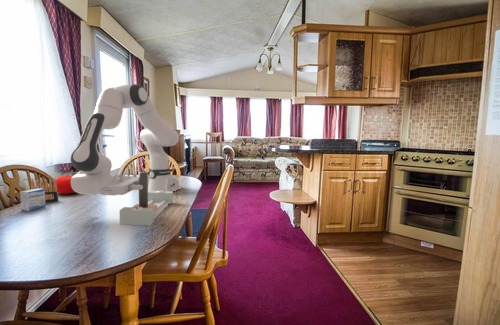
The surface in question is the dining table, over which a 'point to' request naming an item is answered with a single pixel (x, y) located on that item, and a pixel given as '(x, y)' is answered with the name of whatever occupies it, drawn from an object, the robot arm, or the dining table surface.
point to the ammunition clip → (49, 192)
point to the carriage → (144, 192)
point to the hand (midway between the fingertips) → (145, 185)
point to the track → (146, 209)
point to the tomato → (64, 185)
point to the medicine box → (32, 199)
